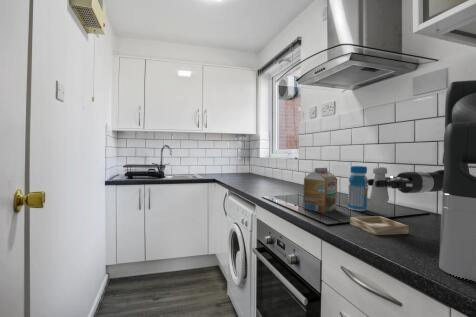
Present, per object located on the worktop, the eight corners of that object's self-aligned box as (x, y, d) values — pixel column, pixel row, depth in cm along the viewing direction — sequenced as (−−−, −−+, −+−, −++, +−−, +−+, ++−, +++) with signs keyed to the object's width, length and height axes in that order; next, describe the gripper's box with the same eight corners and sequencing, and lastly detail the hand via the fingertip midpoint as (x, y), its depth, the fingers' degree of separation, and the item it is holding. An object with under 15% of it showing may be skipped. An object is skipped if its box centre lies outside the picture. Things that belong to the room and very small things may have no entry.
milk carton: (315, 205, 124) (317, 166, 124) (336, 209, 116) (337, 168, 116) (303, 208, 117) (304, 167, 117) (324, 213, 109) (325, 168, 109)
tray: (408, 233, 84) (408, 225, 84) (375, 235, 81) (375, 227, 81) (379, 222, 96) (379, 216, 96) (349, 223, 93) (350, 217, 93)
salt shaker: (391, 206, 85) (392, 167, 85) (372, 205, 86) (373, 167, 86) (384, 203, 91) (386, 166, 90) (367, 202, 92) (368, 166, 91)
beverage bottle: (352, 211, 114) (354, 166, 114) (344, 207, 123) (345, 165, 122) (371, 211, 115) (372, 167, 114) (361, 207, 123) (363, 166, 122)
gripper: (398, 170, 98) (358, 170, 94) (433, 173, 84) (388, 174, 81) (397, 189, 98) (358, 190, 95) (432, 196, 84) (387, 197, 81)
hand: (372, 183), depth 88 cm, fingers closed on salt shaker, 3 cm apart
